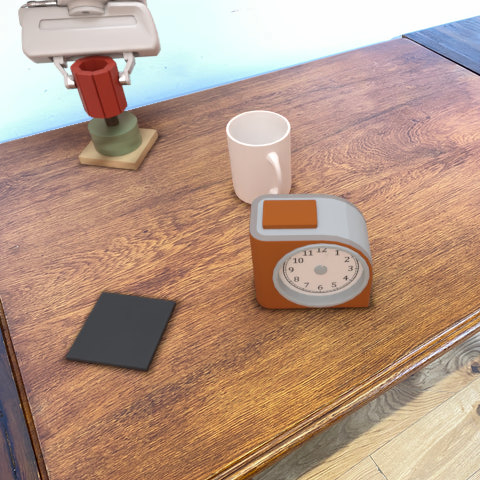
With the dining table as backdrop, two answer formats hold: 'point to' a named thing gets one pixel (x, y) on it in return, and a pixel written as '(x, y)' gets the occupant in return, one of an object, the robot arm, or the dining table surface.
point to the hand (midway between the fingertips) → (99, 86)
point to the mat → (122, 331)
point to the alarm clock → (309, 252)
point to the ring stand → (117, 142)
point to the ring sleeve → (99, 86)
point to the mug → (259, 154)
